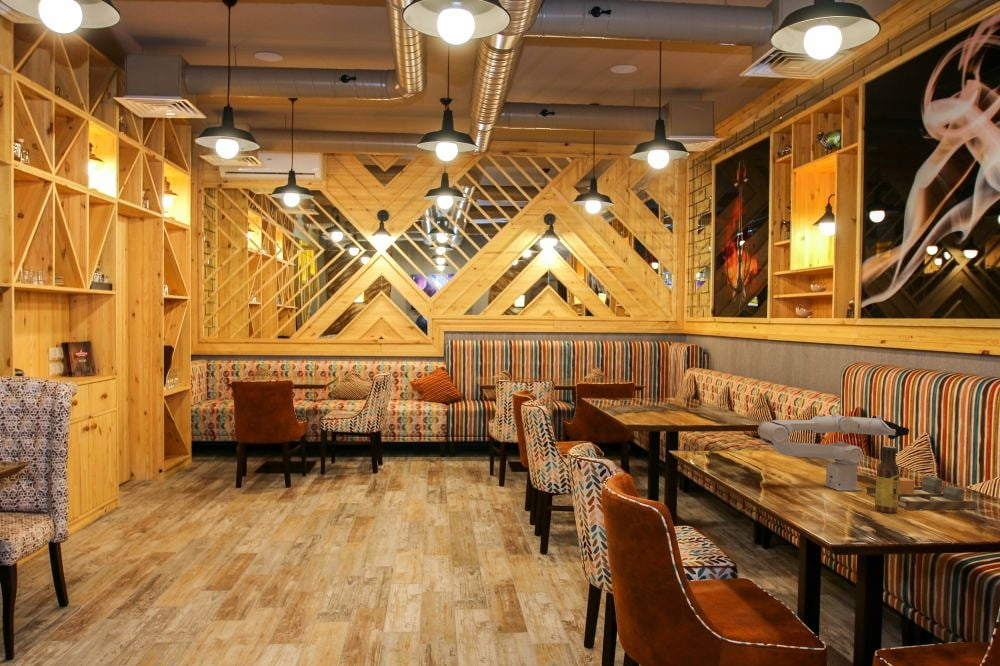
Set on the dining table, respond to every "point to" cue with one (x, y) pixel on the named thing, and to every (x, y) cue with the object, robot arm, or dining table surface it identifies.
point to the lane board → (932, 499)
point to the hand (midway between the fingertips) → (900, 428)
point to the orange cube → (906, 486)
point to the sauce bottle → (887, 481)
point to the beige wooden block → (930, 486)
